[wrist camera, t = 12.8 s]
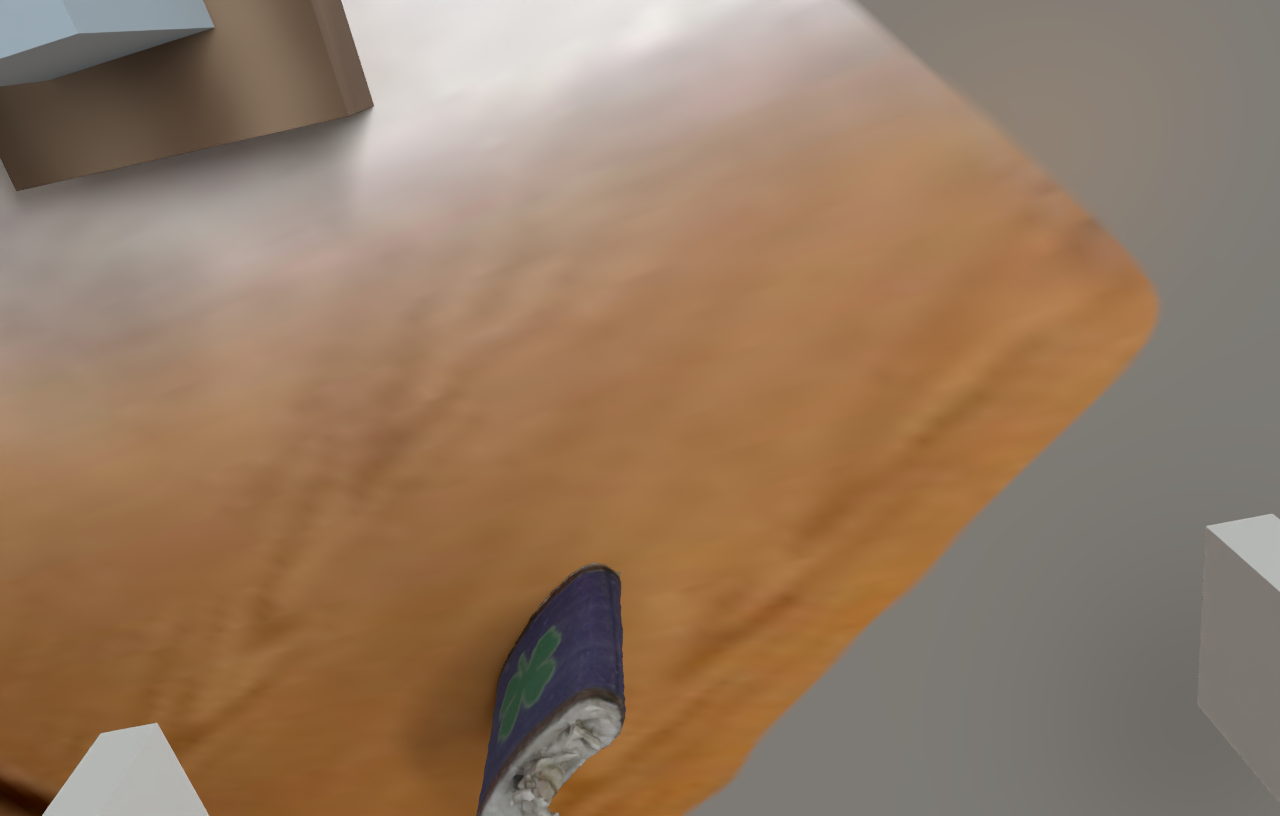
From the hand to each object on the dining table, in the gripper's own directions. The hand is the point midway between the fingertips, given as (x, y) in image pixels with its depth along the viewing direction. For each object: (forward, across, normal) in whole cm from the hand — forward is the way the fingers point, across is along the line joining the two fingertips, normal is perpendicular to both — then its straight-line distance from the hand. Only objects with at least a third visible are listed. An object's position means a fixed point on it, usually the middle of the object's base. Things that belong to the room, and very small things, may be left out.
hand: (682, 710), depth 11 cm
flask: (+27, -8, -18) cm, 34 cm away
